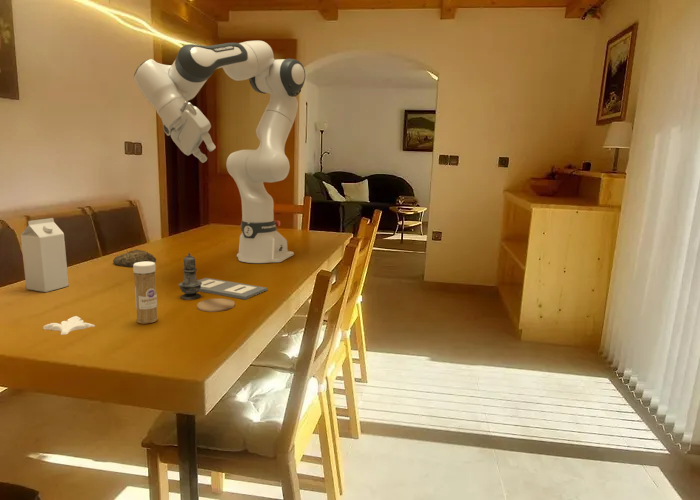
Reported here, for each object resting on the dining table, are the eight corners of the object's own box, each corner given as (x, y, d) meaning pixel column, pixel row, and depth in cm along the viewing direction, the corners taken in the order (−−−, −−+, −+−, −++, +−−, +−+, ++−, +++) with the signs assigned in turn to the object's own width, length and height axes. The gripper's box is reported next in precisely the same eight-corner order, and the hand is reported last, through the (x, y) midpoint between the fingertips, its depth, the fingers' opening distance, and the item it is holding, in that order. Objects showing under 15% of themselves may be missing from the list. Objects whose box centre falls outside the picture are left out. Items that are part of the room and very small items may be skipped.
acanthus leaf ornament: (43, 332, 102) (42, 323, 102) (74, 322, 108) (73, 314, 108) (64, 338, 99) (64, 329, 98) (95, 328, 105) (94, 320, 104)
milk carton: (26, 289, 130) (18, 220, 126) (50, 283, 137) (43, 217, 133) (45, 292, 128) (38, 222, 124) (68, 286, 134) (62, 218, 131)
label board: (206, 280, 144) (206, 276, 144) (267, 290, 135) (267, 286, 135) (181, 288, 135) (181, 284, 135) (245, 299, 126) (245, 295, 126)
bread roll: (129, 269, 156) (128, 254, 155) (107, 264, 163) (106, 249, 162) (163, 263, 166) (162, 249, 165) (142, 258, 173) (141, 244, 172)
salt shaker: (195, 300, 124) (193, 255, 122) (174, 299, 125) (172, 253, 123) (206, 294, 130) (205, 251, 128) (186, 292, 131) (184, 249, 129)
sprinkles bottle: (147, 325, 106) (144, 266, 103) (131, 322, 107) (128, 263, 105) (162, 319, 110) (159, 262, 107) (147, 316, 112) (144, 259, 109)
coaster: (214, 298, 126) (213, 296, 126) (241, 303, 123) (241, 301, 122) (189, 308, 118) (189, 305, 118) (218, 313, 115) (218, 311, 114)
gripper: (195, 93, 129) (227, 136, 131) (180, 124, 146) (209, 162, 148) (176, 103, 125) (209, 147, 128) (163, 133, 143) (192, 172, 145)
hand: (209, 155), depth 138 cm, fingers open, 8 cm apart
